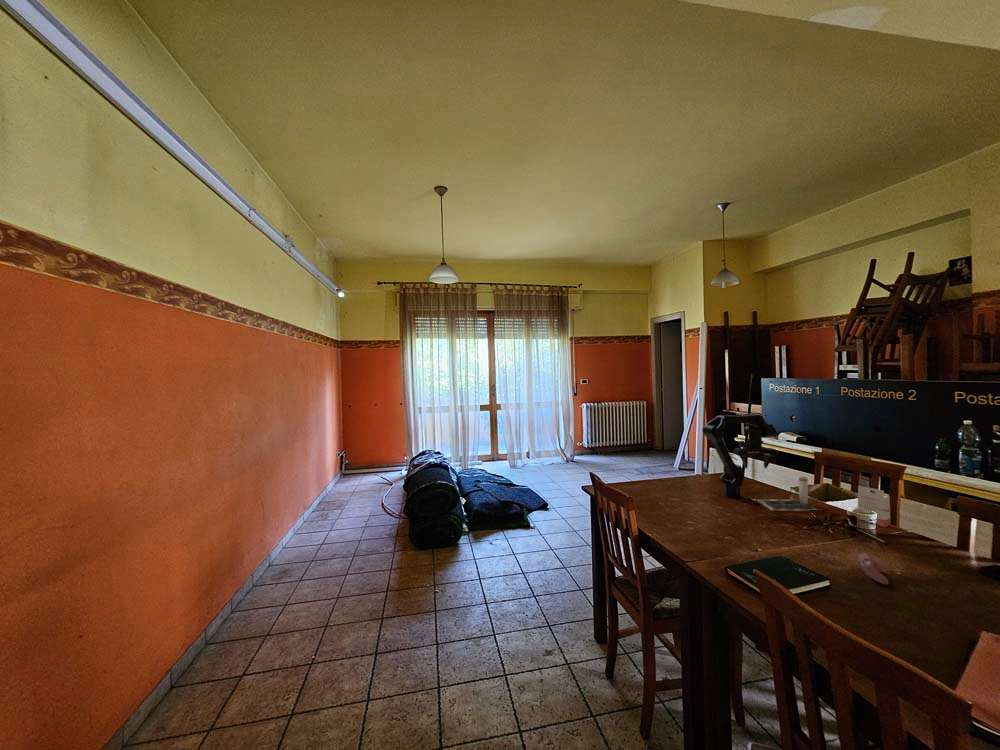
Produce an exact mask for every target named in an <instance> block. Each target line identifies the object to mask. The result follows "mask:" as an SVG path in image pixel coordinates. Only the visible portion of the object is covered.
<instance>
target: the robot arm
mask: <svg viewBox="0 0 1000 750" xmlns="http://www.w3.org/2000/svg"><path fill="white" fill-rule="evenodd" d="M727 424H746V426H745V427H744V430H746V431H747V436H748V437H747V439H746V442H745V441H744V440H740V441H738V446H739V447H736V448H734V449H733V454H734V455H736V456H738V457H739V458H740V459H741V461H742V464H743V466H744V468H745V469H746V470H747V469H748V467H749V456H748V455H749V454H750V455H751V454H758V455H759V454H762V456H763V468H764V469H768V466H769V464H770V463H771V461H772V460H773V459H774V458H775V457H776V456H778V455H779V452H778V450H777V449H775V448H773V447H763V444H764V440H762V439H766V438H774V437H776V436H777V434H778V432H777V429H776V428H775V426H774V424H771V423H767V422H766V420H765V418H764V417H763V415H762V414H756V413H745V414H741V415H732V414H731V415H729V414H728V415H727V414H725V415H724V414H719V415H717V416H716V417H715V418H713V419H711V420H710V421H708V422H707V423H706V424H705V425H703V428H702V433H703V434H704V436H705V437H706V438H707V439H708V441H710V442H711V443H712V445H713V447H714V448H715V450H716V452H717V454H718V457H719V459H720V461H721V463H722V464H723V473H722V475H721V476H720V478H719V479H720V481H721V483H723V492H721V494H722V495H723V496H725V497H726V498H728V499H729V498H730V499H731V498H733V499H738V498H739V499H742V496H741V486H743V483H744V481H745V480H744V479H745V471H744V470H743V467H742V465H740V464H737V463H735V461H734V460H733V458H732V456H731V454H730V451H729V449H728V448H727V446H726V444H725V442H724V440H723V439H724V433H723V432H724V431H725V430H726V427H727Z"/></svg>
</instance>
